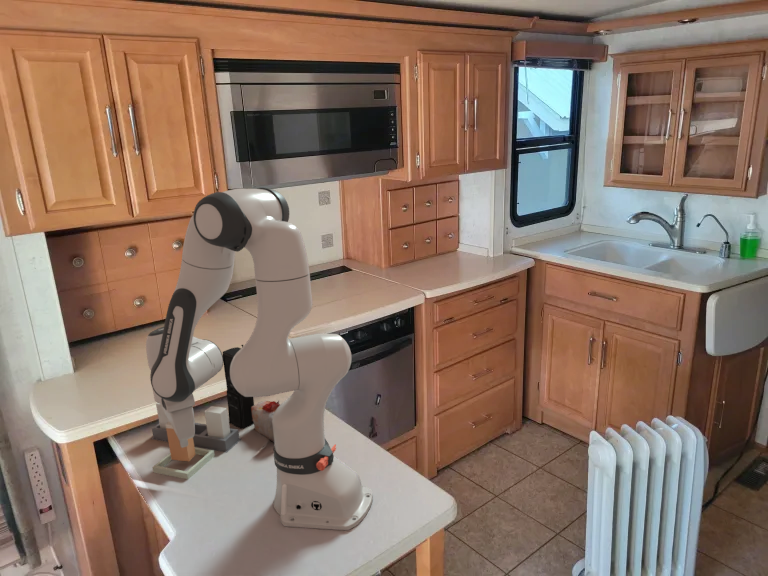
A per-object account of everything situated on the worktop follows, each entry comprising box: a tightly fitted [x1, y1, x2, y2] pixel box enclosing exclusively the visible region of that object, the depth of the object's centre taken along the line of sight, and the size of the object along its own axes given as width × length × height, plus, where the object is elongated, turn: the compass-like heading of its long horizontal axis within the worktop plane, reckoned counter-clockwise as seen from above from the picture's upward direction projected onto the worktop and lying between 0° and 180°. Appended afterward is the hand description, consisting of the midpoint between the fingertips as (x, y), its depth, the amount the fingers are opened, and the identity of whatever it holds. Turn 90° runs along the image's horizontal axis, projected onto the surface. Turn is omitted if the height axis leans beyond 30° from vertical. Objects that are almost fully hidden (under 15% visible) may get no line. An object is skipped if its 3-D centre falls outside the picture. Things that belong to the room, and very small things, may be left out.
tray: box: [152, 447, 216, 480], centre depth 144 cm, size 11×11×2 cm
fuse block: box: [150, 402, 242, 453], centre depth 155 cm, size 25×7×11 cm, turn 70°
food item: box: [251, 400, 282, 443], centre depth 157 cm, size 14×8×10 cm, turn 46°
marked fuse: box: [165, 422, 196, 462], centre depth 142 cm, size 5×3×10 cm, turn 77°
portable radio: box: [222, 344, 255, 430], centre depth 161 cm, size 8×6×25 cm
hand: (180, 439), depth 142 cm, fingers closed on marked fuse, 6 cm apart
